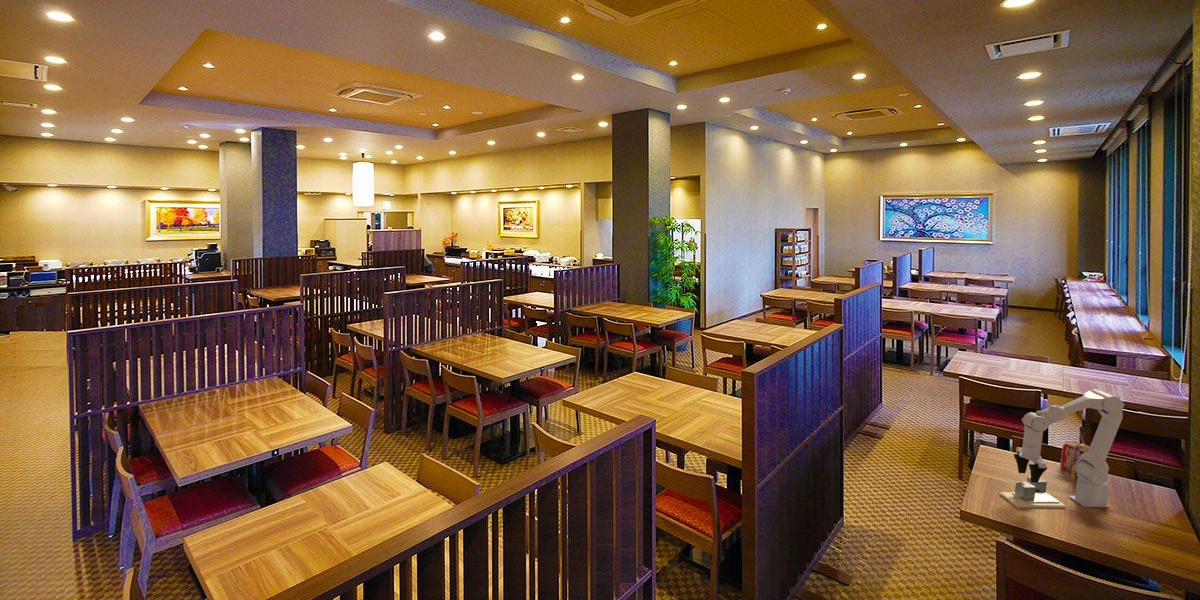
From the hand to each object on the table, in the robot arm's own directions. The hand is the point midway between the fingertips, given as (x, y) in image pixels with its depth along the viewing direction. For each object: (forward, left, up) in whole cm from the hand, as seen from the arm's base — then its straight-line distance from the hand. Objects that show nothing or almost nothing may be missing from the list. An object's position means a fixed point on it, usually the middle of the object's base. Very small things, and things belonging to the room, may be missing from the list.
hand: (1027, 477), depth 228 cm
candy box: (-34, -15, -10) cm, 39 cm away
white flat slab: (-3, 0, -8) cm, 9 cm away
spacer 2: (-9, -8, -9) cm, 15 cm away
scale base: (-2, +1, -9) cm, 10 cm away
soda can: (-37, -27, -10) cm, 47 cm away
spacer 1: (+1, 0, -8) cm, 8 cm away
